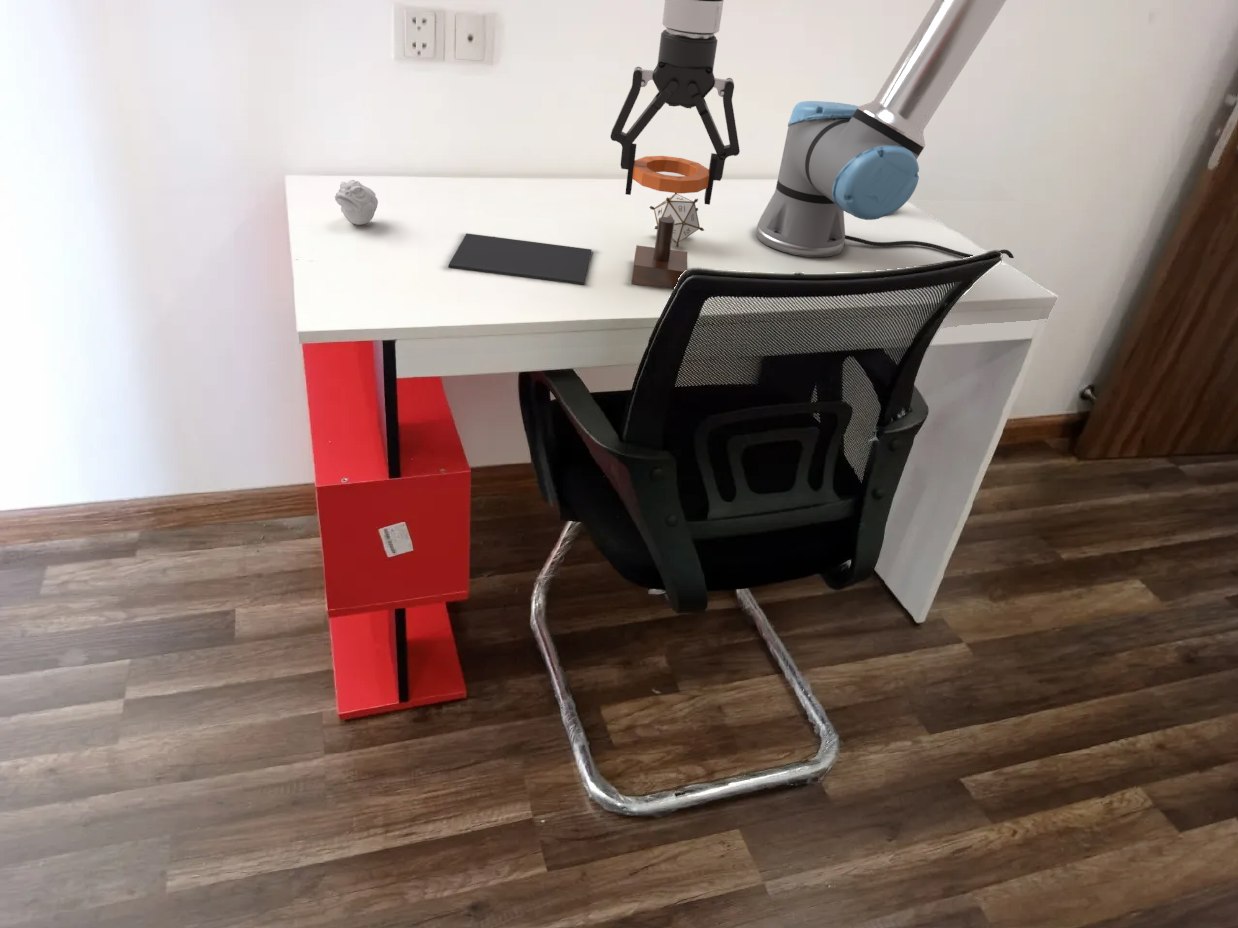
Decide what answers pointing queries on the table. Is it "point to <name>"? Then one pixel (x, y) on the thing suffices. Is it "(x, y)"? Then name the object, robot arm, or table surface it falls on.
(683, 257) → the post
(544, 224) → the table surface
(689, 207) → the game die
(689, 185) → the ring
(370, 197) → the frog figurine
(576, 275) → the mat
